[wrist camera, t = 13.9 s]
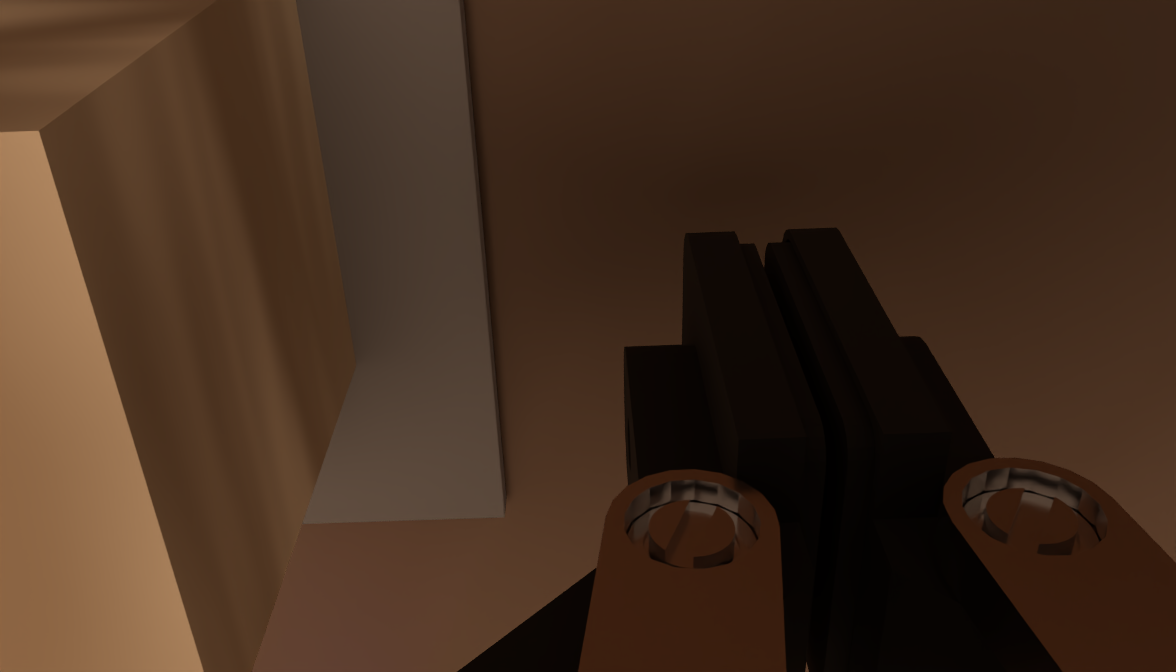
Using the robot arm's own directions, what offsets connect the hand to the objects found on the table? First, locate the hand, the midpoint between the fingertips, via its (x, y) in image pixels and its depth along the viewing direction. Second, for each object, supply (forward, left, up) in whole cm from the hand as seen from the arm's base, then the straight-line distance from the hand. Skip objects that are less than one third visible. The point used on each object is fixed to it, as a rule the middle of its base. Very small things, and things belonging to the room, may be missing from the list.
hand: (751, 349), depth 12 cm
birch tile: (+7, 0, -6) cm, 9 cm away
